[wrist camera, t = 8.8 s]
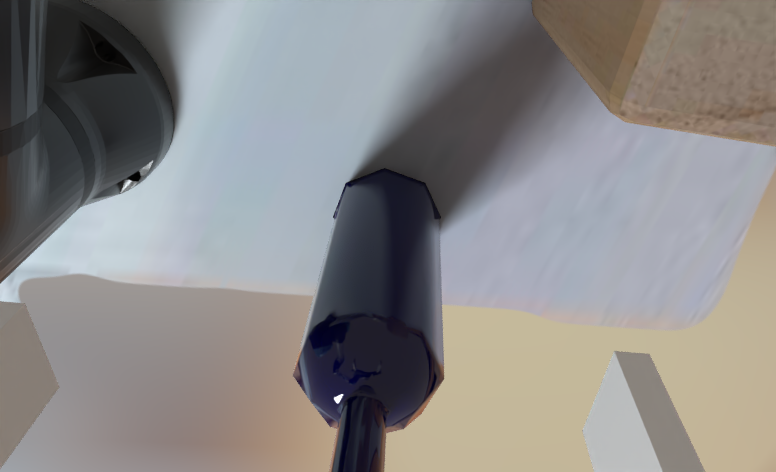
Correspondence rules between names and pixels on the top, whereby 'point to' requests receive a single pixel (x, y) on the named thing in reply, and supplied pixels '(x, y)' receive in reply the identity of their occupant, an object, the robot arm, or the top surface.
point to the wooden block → (675, 61)
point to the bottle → (375, 318)
